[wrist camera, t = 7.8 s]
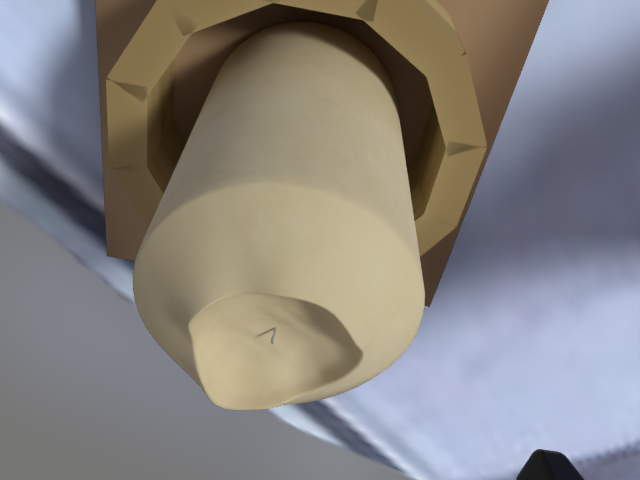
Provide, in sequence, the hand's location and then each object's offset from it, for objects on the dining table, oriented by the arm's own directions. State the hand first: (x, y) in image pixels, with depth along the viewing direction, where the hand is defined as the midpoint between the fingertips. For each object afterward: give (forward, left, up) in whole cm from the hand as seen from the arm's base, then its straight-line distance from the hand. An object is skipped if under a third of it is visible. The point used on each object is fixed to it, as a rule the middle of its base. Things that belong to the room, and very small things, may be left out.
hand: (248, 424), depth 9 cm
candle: (0, 0, -12) cm, 12 cm away
